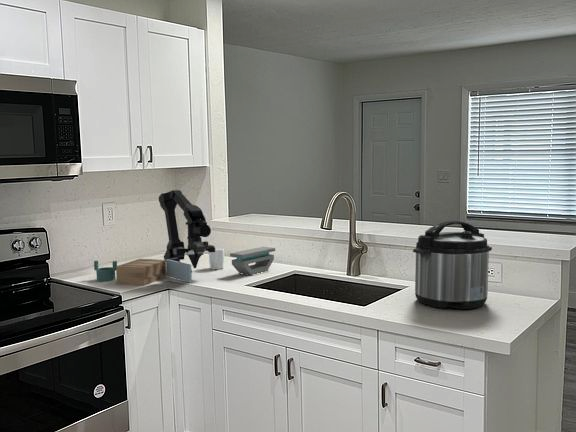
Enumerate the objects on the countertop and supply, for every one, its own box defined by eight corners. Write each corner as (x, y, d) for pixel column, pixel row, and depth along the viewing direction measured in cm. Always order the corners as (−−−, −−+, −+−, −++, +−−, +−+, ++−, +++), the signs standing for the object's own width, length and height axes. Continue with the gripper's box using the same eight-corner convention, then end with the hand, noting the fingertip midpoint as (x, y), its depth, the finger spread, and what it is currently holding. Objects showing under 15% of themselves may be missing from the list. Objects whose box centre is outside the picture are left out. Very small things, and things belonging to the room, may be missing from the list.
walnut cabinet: (140, 275, 281) (139, 258, 280) (166, 276, 277) (165, 260, 276) (116, 283, 262) (116, 266, 261) (144, 285, 258) (143, 267, 257)
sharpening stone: (242, 277, 273) (242, 254, 272) (230, 275, 278) (229, 253, 277) (275, 269, 293) (275, 248, 292) (263, 267, 298) (263, 246, 297)
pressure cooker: (483, 294, 238) (486, 217, 235) (498, 313, 210) (501, 225, 207) (408, 292, 242) (410, 216, 239) (413, 310, 214) (414, 224, 211)
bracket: (118, 280, 270) (117, 261, 269) (97, 282, 265) (97, 263, 265) (113, 277, 278) (112, 258, 277) (93, 279, 273) (92, 260, 272)
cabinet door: (166, 276, 277) (165, 259, 276) (169, 275, 278) (168, 258, 277) (189, 282, 262) (189, 264, 261) (193, 281, 263) (192, 264, 262)
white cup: (222, 270, 292) (221, 250, 291) (207, 269, 293) (206, 250, 292) (226, 267, 300) (226, 247, 299) (211, 266, 301) (211, 247, 300)
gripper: (179, 238, 258) (180, 273, 260) (219, 235, 267) (220, 269, 268) (172, 235, 268) (173, 269, 269) (210, 232, 277) (211, 265, 278)
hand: (194, 268), depth 271 cm, fingers closed
